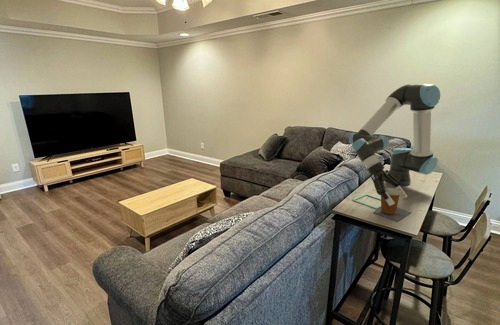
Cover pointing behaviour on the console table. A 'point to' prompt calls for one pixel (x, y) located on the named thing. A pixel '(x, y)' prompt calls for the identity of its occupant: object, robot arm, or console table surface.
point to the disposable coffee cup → (395, 196)
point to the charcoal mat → (396, 217)
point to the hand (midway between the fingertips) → (398, 201)
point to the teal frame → (365, 203)
